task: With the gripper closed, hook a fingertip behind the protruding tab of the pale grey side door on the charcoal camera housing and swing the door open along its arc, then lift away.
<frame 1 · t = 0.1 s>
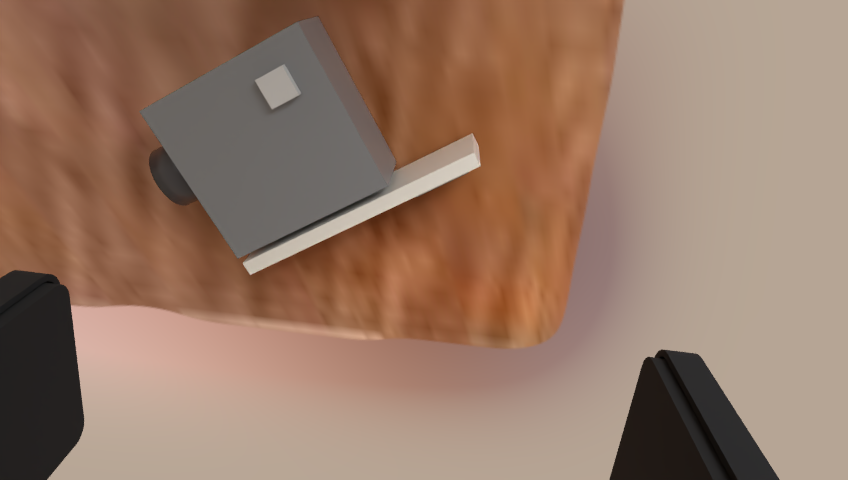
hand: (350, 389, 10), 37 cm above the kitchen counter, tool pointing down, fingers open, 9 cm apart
camera housing: (288, 128, 47), on the kitchen counter
side door: (363, 205, 45), point 3 cm above the kitchen counter, hinge at 0.0°
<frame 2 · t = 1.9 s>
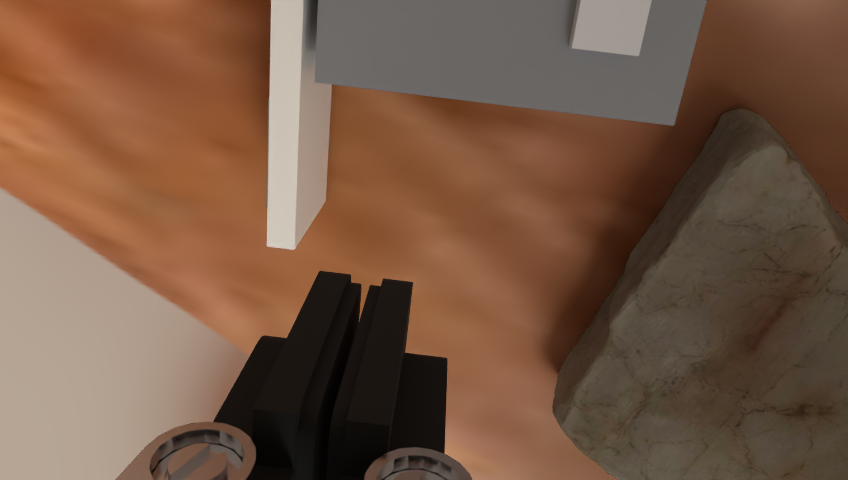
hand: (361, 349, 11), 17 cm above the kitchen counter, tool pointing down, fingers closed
marble piece: (745, 327, 30), on the kitchen counter
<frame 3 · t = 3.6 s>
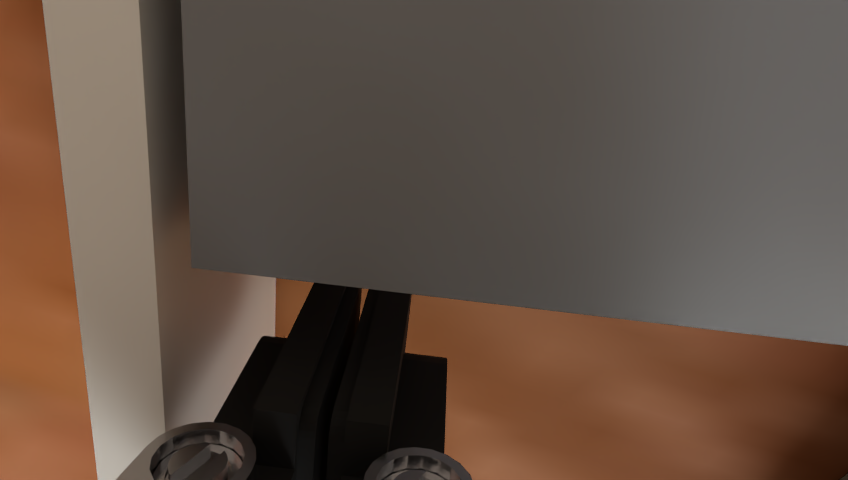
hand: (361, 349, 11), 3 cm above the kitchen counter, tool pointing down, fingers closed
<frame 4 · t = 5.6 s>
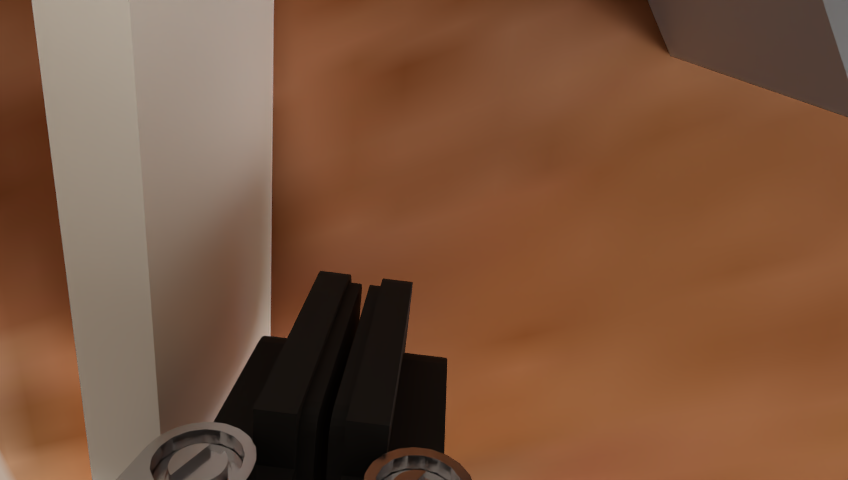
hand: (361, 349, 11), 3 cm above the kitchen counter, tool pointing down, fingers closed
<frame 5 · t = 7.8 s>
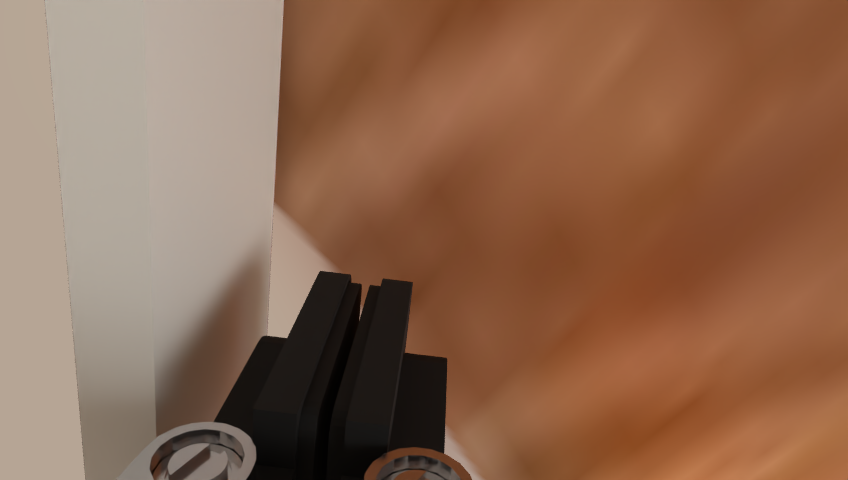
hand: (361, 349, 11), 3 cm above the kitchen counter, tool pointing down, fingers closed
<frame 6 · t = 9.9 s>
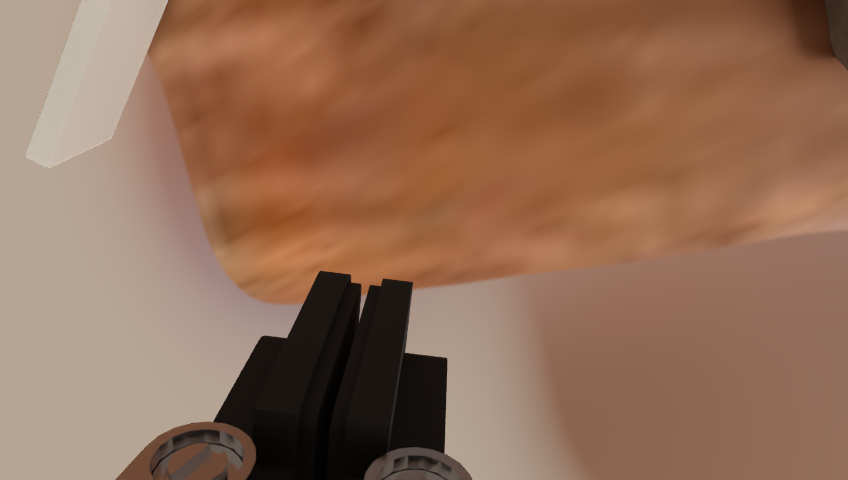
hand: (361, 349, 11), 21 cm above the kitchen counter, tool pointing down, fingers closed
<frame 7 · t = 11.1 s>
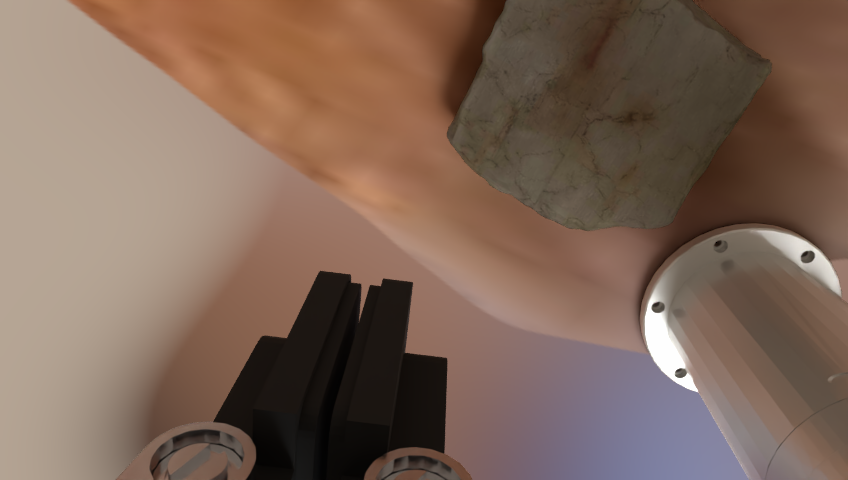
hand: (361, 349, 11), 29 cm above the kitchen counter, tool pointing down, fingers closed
marble piece: (600, 75, 38), on the kitchen counter
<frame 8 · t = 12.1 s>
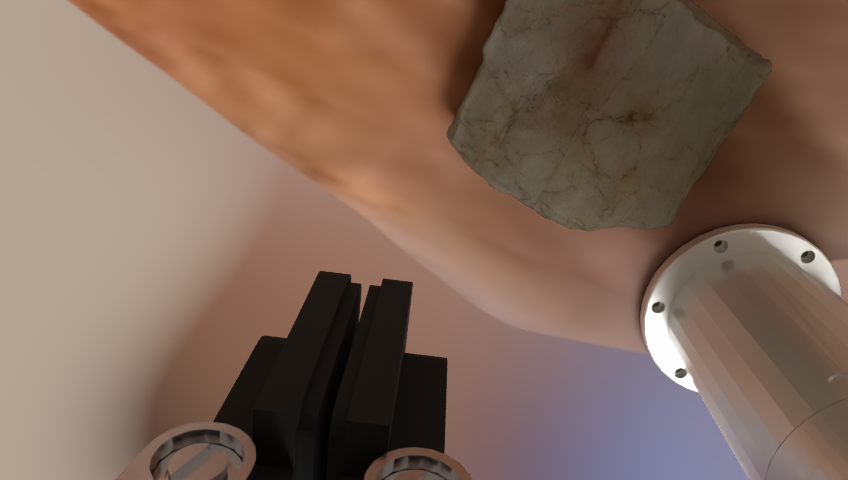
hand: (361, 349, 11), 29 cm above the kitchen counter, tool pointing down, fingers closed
marble piece: (600, 75, 38), on the kitchen counter
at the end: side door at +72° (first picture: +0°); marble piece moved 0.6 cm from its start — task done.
